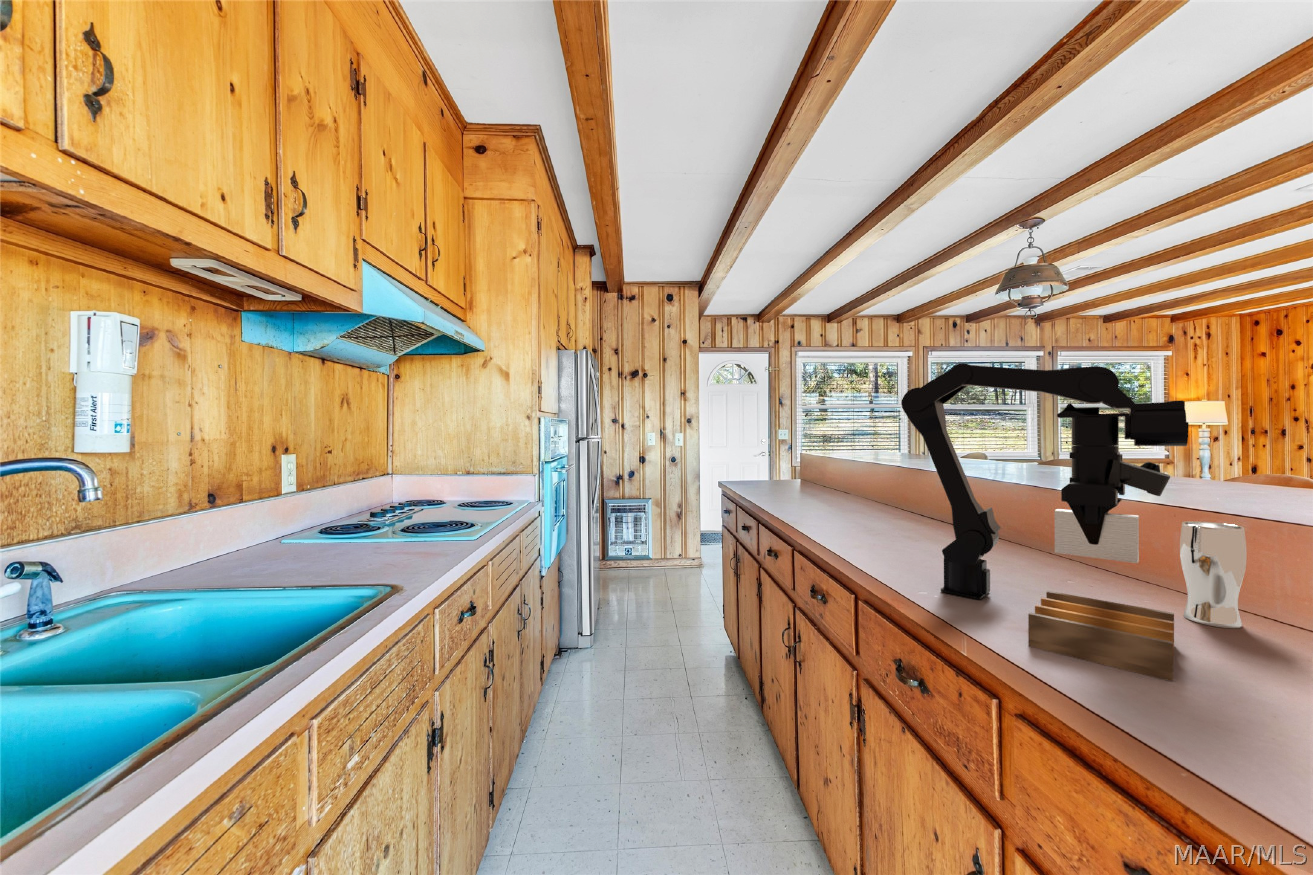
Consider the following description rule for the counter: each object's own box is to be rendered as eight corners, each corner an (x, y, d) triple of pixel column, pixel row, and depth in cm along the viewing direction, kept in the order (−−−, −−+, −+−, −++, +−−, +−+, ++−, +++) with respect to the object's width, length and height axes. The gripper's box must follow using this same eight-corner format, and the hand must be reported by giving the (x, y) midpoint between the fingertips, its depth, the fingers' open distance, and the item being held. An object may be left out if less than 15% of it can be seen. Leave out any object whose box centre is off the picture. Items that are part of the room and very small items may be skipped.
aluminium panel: (1054, 552, 84) (1054, 510, 84) (1057, 549, 85) (1057, 508, 85) (1137, 563, 76) (1137, 517, 76) (1138, 560, 78) (1138, 515, 78)
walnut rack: (1028, 646, 70) (1028, 613, 70) (1047, 618, 80) (1047, 590, 80) (1172, 681, 60) (1172, 643, 60) (1174, 645, 70) (1174, 612, 70)
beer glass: (1191, 624, 77) (1191, 526, 77) (1171, 610, 83) (1171, 519, 83) (1257, 632, 74) (1257, 530, 73) (1231, 617, 80) (1231, 522, 80)
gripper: (1164, 448, 69) (1164, 562, 69) (1167, 445, 81) (1167, 541, 82) (1060, 447, 77) (1060, 549, 77) (1077, 444, 89) (1078, 531, 90)
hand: (1094, 542), depth 81 cm, fingers closed on aluminium panel, 2 cm apart
